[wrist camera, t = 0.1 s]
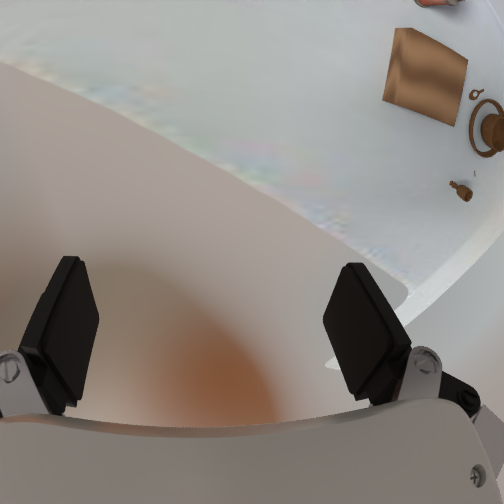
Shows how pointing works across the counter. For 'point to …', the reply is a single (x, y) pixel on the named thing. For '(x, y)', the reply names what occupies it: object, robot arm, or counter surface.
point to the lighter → (436, 2)
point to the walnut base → (425, 76)
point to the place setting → (484, 138)
